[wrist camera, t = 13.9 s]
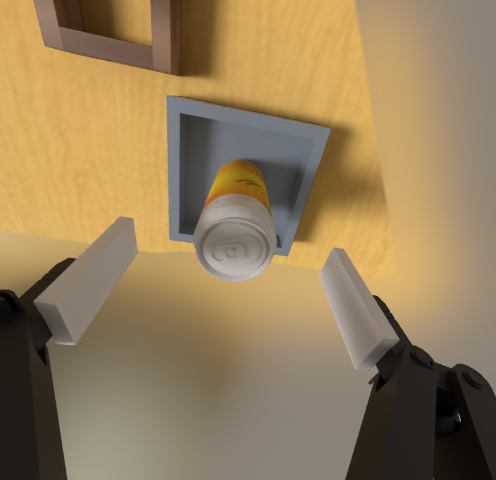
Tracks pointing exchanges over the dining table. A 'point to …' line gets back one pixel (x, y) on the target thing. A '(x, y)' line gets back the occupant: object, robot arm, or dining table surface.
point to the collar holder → (79, 42)
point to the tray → (239, 148)
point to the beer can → (236, 224)
